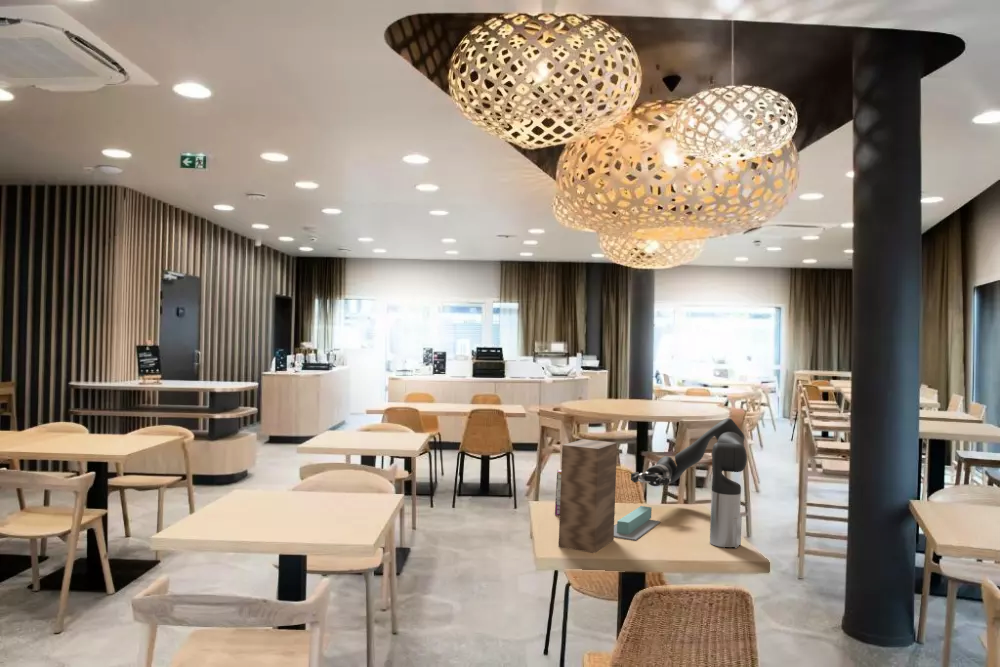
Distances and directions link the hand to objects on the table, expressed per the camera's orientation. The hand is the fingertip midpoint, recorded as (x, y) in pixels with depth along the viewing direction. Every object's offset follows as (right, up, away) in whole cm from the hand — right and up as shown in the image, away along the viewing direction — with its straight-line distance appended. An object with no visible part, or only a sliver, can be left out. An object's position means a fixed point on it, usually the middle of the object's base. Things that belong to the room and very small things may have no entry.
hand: (645, 481), depth 269 cm
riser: (-26, -13, -35) cm, 46 cm away
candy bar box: (-28, -13, +3) cm, 31 cm away
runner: (-8, -14, -14) cm, 21 cm away
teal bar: (-6, -13, -11) cm, 18 cm away
